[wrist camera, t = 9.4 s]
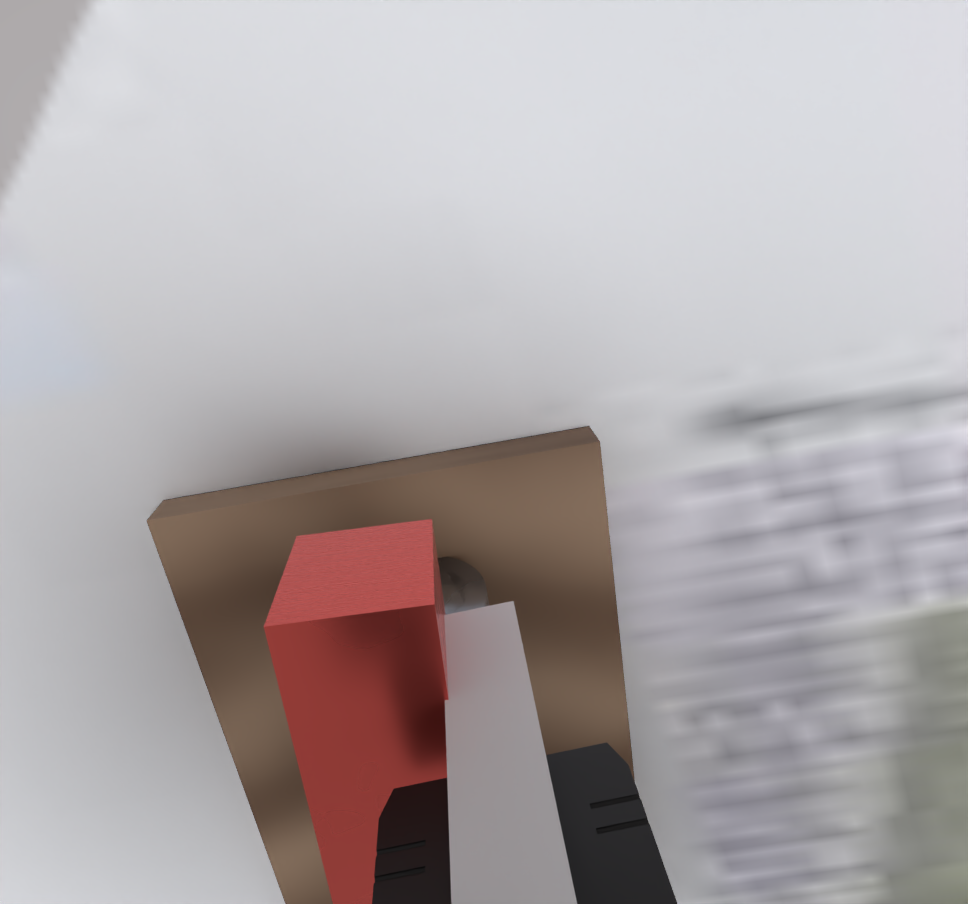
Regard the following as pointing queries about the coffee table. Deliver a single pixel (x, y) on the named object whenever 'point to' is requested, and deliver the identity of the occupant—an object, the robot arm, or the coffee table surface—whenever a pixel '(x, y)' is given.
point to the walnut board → (458, 534)
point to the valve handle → (361, 682)
